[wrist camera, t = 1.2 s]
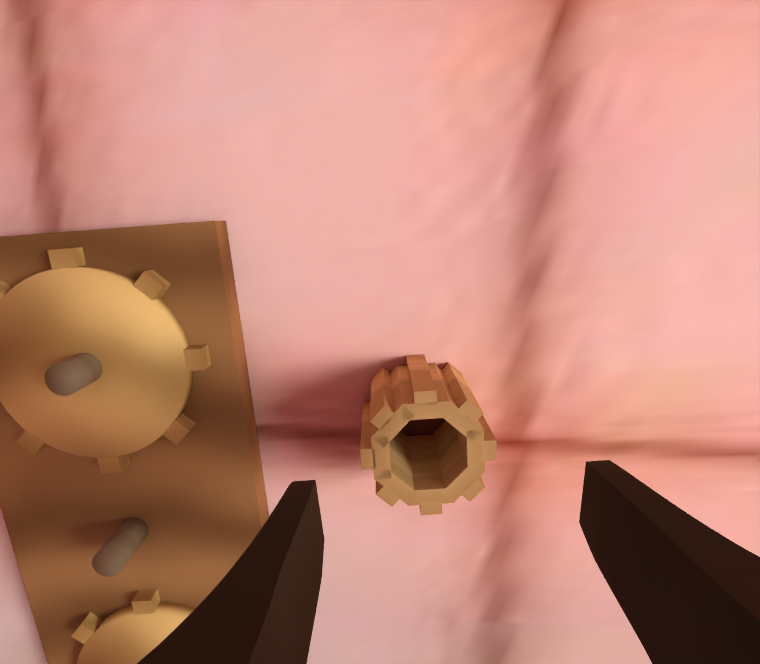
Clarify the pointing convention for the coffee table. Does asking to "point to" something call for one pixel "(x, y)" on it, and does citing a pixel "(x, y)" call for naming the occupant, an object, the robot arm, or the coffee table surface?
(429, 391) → the maple gear
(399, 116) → the coffee table surface
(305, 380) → the coffee table surface
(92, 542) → the gear board
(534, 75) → the coffee table surface
